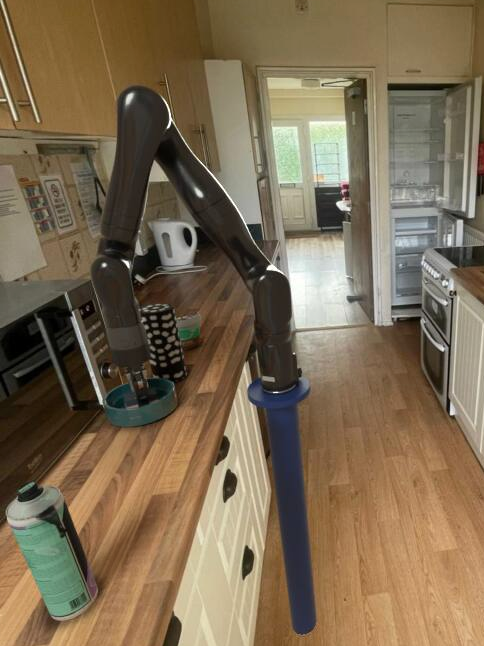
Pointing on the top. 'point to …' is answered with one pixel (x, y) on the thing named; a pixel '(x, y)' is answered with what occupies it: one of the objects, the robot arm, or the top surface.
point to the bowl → (143, 414)
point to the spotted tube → (163, 341)
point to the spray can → (52, 550)
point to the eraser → (132, 402)
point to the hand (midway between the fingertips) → (143, 407)
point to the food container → (189, 330)
